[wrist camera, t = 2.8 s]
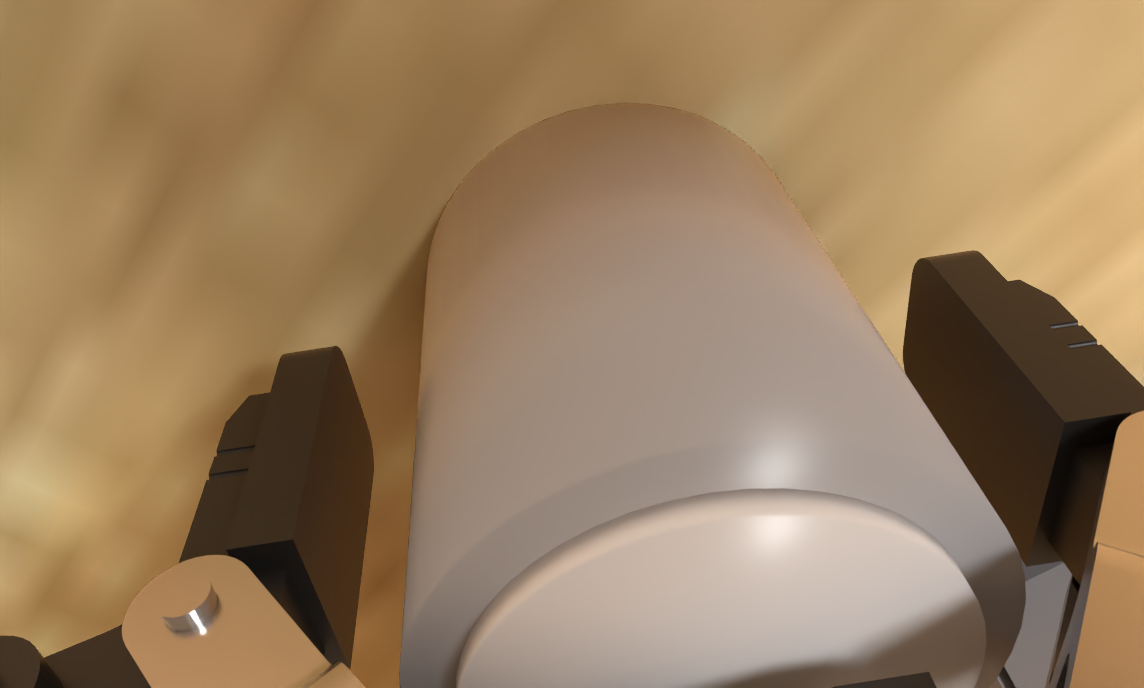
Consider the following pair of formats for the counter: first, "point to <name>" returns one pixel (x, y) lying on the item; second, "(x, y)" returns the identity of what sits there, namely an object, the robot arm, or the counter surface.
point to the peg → (676, 439)
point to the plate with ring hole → (1036, 627)
